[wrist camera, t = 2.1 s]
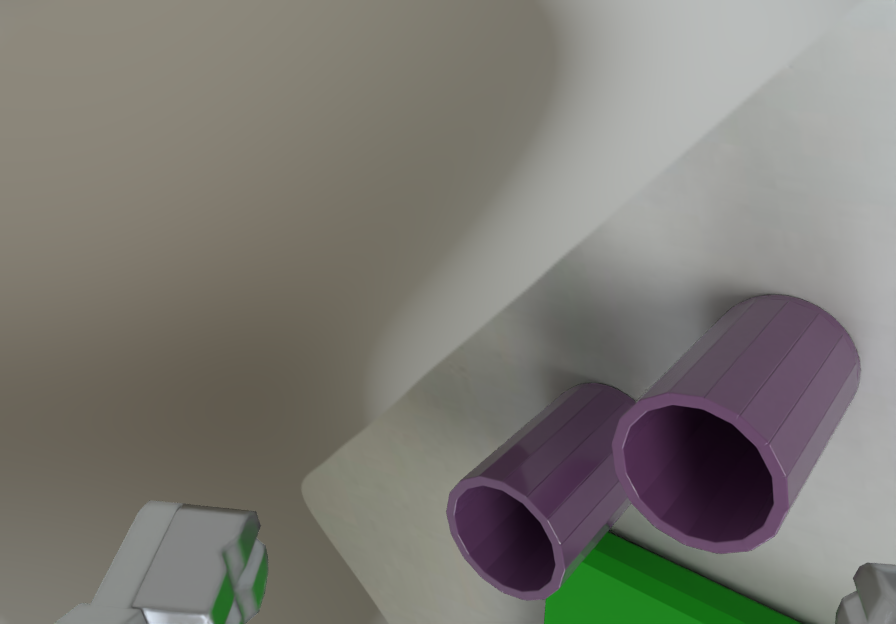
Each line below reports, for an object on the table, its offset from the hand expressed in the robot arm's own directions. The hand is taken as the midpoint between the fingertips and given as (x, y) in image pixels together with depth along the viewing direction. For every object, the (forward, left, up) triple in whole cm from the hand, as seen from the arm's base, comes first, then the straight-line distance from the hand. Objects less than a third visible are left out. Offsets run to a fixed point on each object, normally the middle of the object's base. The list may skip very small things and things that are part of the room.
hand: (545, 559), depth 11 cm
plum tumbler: (+9, -5, -26) cm, 28 cm away
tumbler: (+15, -15, -26) cm, 33 cm away
